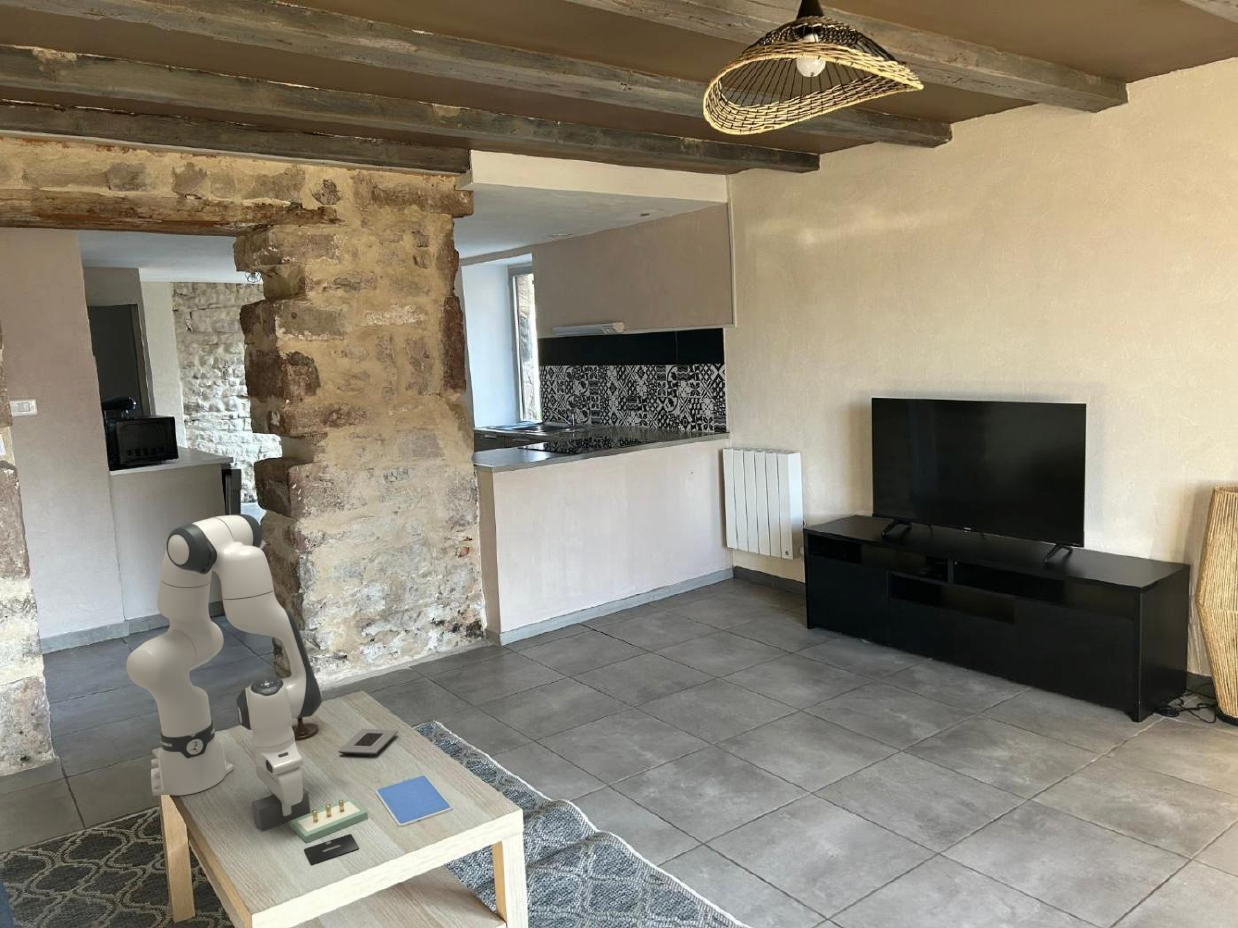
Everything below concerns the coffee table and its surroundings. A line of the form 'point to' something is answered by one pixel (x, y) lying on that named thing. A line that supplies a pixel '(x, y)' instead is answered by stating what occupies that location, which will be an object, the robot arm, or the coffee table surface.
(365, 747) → the grey flat piece
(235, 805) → the coffee table surface
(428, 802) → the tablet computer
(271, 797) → the block
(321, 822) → the header board
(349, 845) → the solid state drive
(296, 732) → the candlestick
